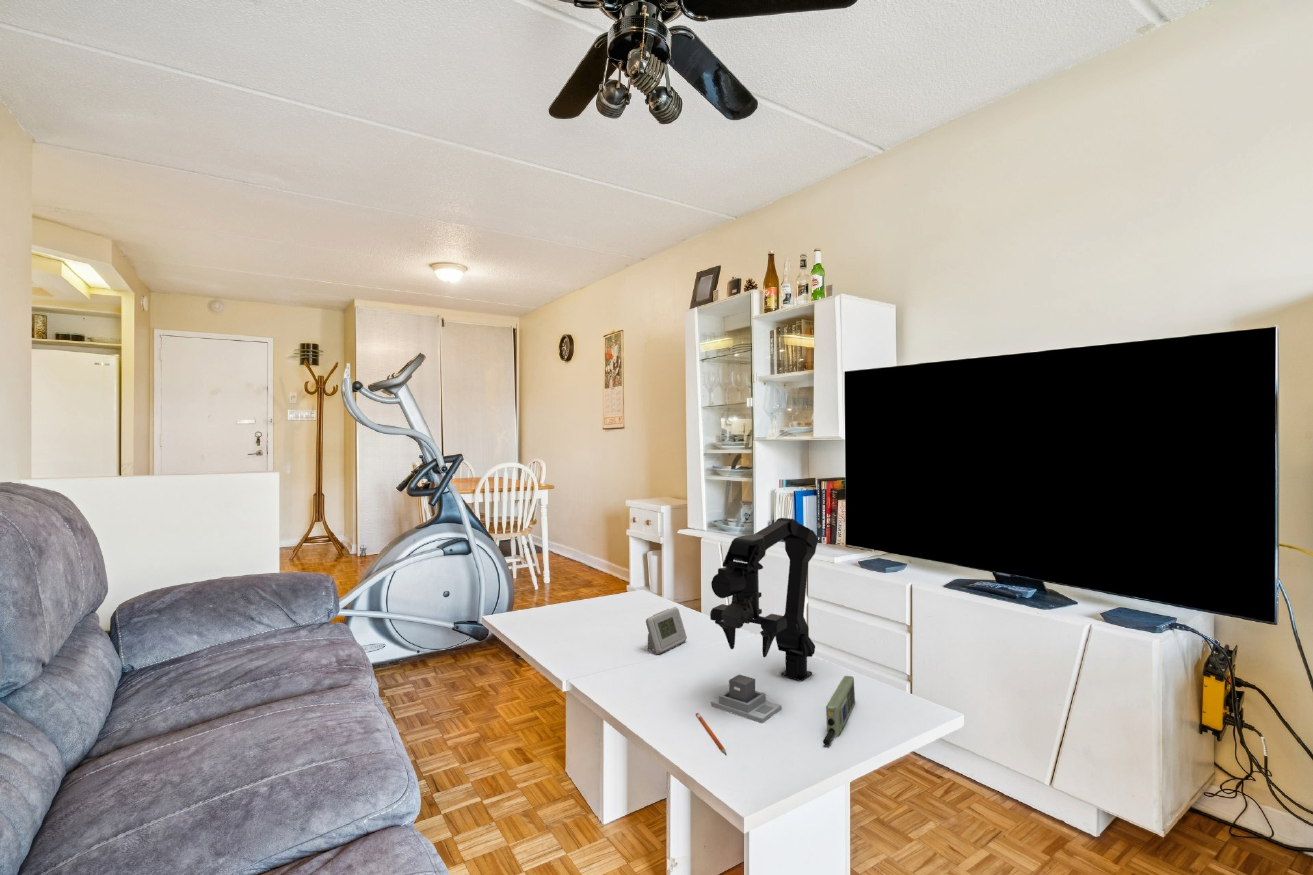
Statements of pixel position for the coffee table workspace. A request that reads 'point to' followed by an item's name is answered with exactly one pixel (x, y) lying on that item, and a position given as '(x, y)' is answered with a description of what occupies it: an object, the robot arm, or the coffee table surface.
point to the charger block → (742, 688)
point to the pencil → (711, 733)
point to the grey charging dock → (748, 706)
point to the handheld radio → (839, 708)
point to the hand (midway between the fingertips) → (748, 652)
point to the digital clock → (665, 630)
